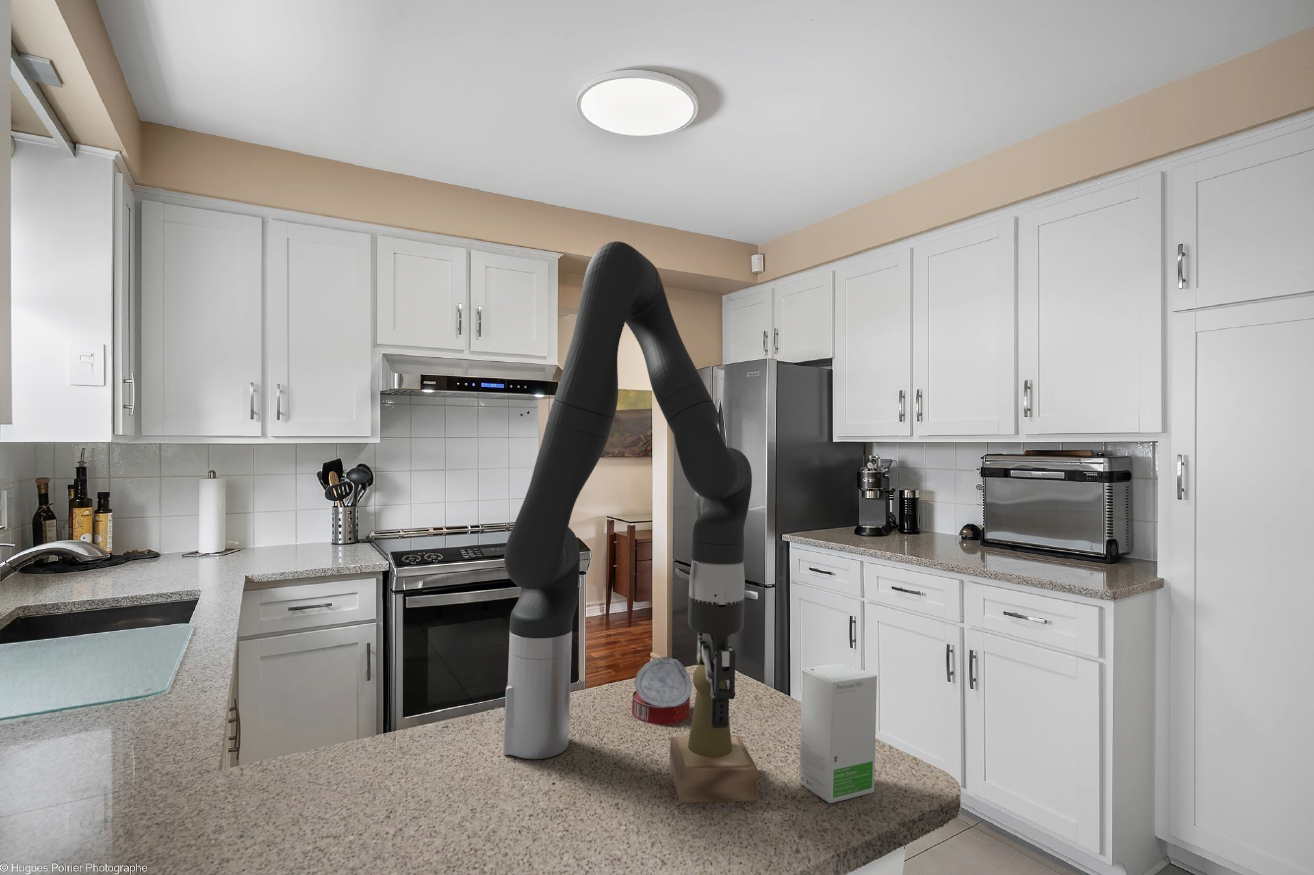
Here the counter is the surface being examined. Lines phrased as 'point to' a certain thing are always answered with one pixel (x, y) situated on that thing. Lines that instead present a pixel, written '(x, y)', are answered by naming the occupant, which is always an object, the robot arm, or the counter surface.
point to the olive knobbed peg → (706, 722)
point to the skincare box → (838, 731)
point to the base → (713, 773)
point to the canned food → (662, 692)
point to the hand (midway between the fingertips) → (712, 713)
